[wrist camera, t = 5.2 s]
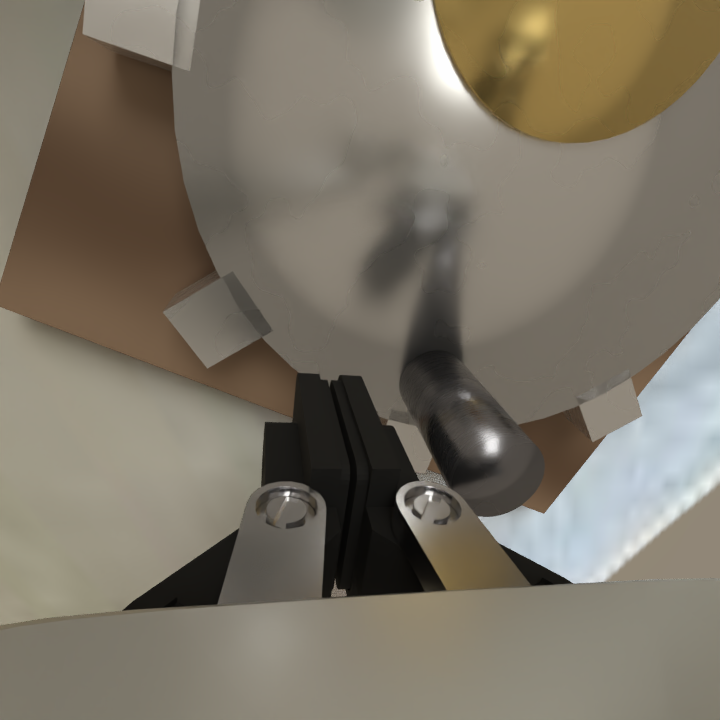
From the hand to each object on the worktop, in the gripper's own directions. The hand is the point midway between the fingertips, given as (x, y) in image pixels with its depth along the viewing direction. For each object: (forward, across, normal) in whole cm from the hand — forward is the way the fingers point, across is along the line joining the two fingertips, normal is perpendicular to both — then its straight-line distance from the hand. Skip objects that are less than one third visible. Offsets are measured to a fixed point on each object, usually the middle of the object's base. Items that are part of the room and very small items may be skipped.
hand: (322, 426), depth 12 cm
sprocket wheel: (+3, -4, -7) cm, 9 cm away
